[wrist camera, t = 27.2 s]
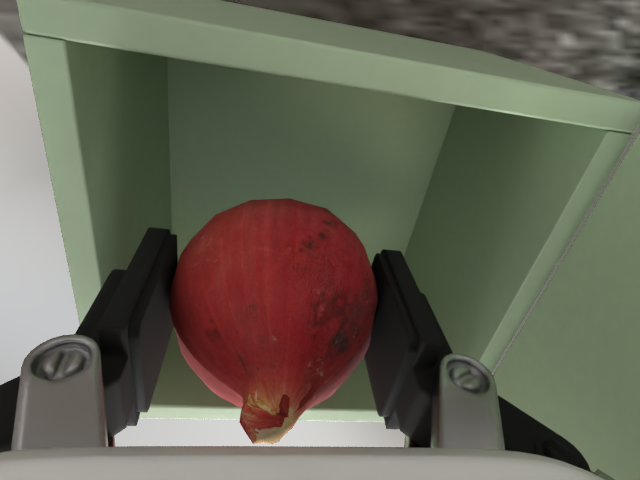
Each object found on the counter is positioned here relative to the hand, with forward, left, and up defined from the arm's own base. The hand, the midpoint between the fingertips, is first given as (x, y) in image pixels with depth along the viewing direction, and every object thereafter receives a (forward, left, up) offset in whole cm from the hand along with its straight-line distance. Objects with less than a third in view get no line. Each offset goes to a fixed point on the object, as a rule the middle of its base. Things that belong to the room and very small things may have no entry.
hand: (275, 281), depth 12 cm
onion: (0, 0, -3) cm, 3 cm away
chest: (+1, 0, -10) cm, 10 cm away
